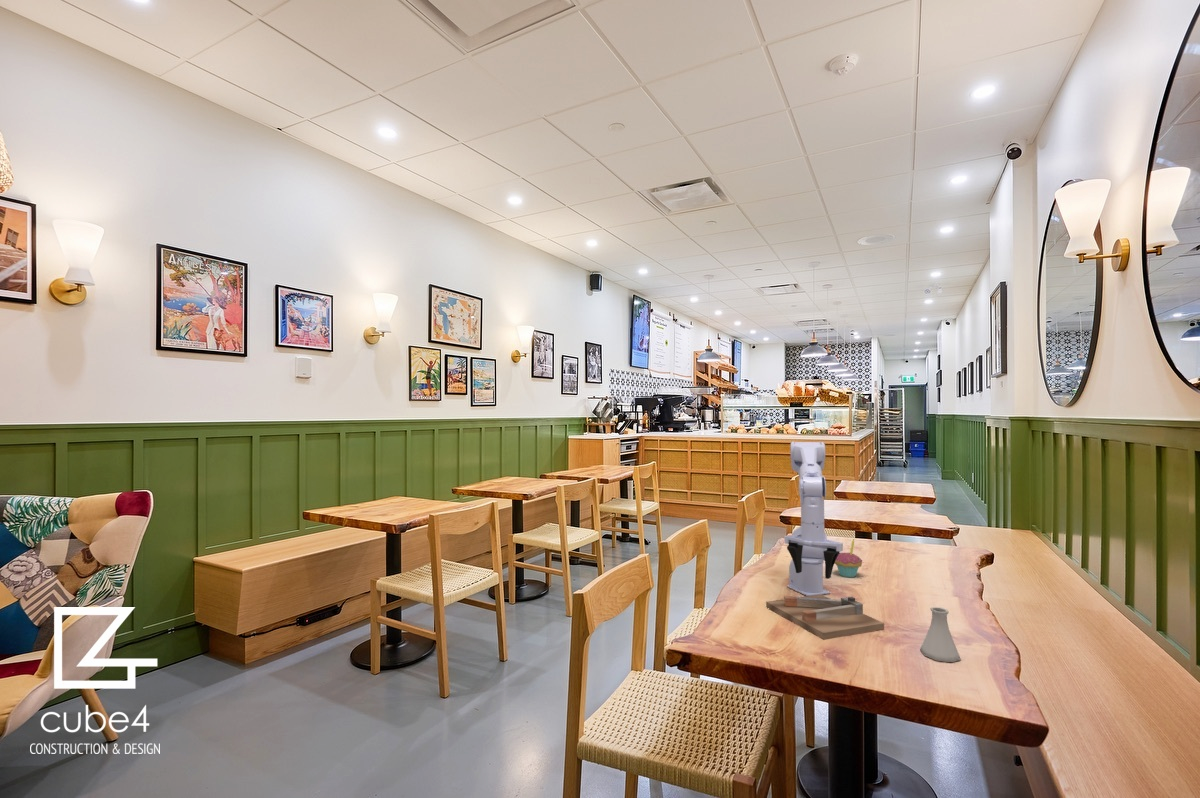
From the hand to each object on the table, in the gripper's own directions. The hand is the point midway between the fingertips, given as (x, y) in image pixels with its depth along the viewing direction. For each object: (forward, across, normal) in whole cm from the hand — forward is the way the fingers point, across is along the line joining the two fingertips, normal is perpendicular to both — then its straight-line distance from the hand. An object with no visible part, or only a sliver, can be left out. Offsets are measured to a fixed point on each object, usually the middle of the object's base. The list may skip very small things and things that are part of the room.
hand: (813, 575), depth 145 cm
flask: (+11, +30, -6) cm, 32 cm away
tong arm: (+8, -1, +1) cm, 8 cm away
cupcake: (+9, -4, +41) cm, 42 cm away
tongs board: (+10, +2, -1) cm, 10 cm away
